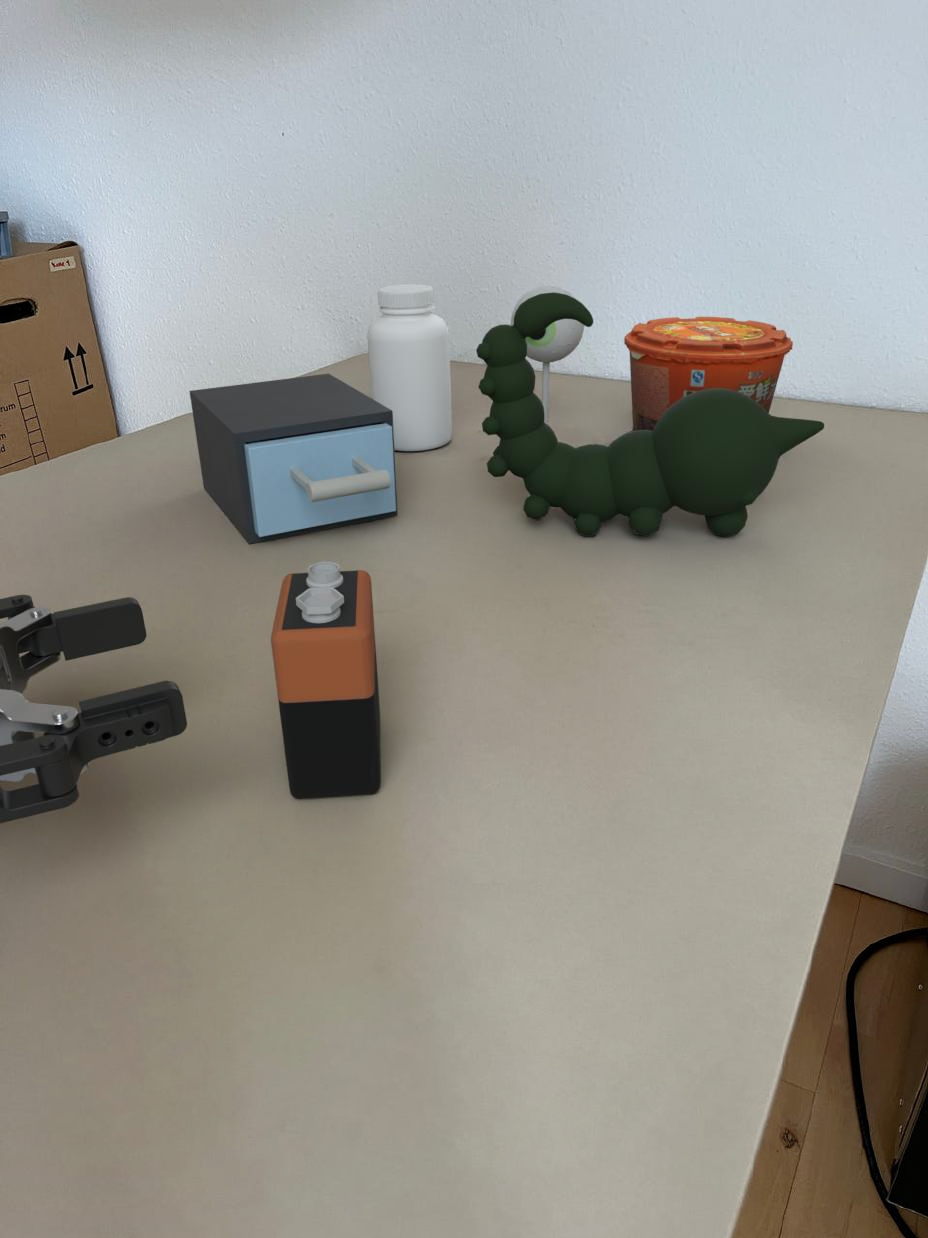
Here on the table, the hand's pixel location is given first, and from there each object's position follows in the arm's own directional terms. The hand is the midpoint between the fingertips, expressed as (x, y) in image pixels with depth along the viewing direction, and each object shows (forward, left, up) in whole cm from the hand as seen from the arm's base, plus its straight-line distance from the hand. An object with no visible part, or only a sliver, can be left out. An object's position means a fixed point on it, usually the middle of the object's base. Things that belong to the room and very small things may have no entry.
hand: (161, 658), depth 41 cm
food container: (+60, +35, -8) cm, 70 cm away
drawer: (+18, +32, -7) cm, 38 cm away
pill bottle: (+34, +48, -8) cm, 59 cm away
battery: (+8, 0, -8) cm, 11 cm away
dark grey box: (+18, +37, -8) cm, 42 cm away
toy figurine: (+40, +18, -8) cm, 44 cm away
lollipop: (+46, +42, -8) cm, 63 cm away
